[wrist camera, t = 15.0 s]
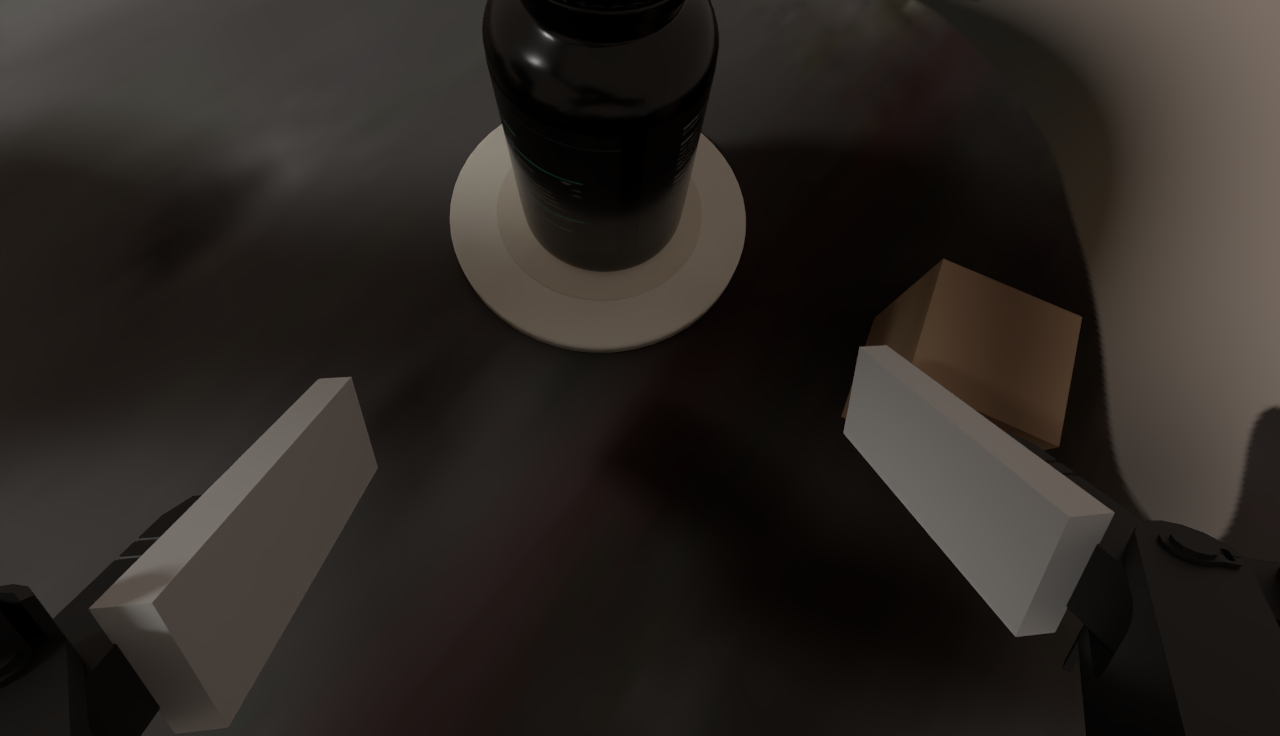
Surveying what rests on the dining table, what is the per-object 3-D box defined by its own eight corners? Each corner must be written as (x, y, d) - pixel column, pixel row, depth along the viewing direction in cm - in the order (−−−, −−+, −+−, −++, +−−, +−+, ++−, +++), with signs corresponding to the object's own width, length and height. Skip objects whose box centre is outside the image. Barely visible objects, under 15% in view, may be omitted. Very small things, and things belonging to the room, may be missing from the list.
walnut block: (840, 417, 21) (907, 379, 17) (874, 318, 23) (943, 258, 18) (956, 470, 21) (1059, 447, 16) (982, 365, 22) (1082, 317, 18)
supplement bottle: (627, 125, 24) (645, -244, 13) (711, 232, 23) (816, -85, 11) (496, 185, 23) (388, -175, 11) (576, 305, 21) (542, 22, 10)
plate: (394, 211, 23) (385, 198, 22) (606, 68, 27) (606, 52, 26) (593, 416, 20) (593, 410, 20) (798, 228, 24) (805, 216, 23)
